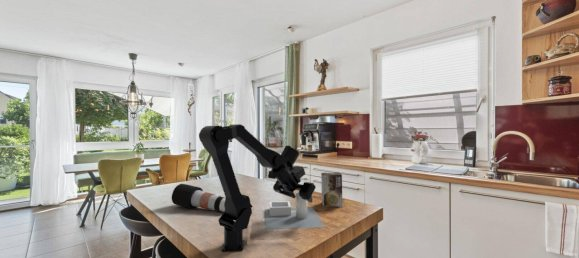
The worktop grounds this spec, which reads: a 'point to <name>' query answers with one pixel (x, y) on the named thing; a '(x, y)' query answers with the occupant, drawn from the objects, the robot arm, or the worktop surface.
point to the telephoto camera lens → (196, 198)
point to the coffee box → (332, 189)
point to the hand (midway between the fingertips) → (303, 199)
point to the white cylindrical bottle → (301, 207)
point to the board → (289, 217)
